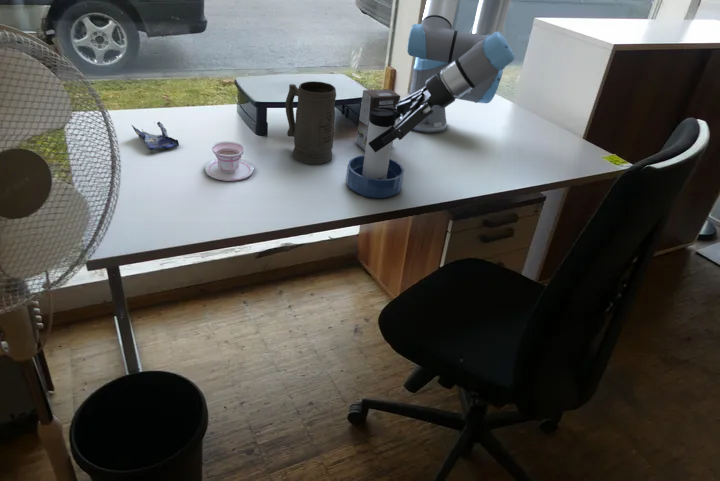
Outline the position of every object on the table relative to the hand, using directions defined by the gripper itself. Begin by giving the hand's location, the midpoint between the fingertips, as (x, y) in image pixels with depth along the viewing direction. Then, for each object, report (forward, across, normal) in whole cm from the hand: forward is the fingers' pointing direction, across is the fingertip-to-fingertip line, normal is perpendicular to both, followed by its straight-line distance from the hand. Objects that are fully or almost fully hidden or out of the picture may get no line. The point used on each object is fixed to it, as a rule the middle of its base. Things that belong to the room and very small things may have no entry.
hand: (374, 136), depth 138 cm
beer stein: (+23, +12, +4) cm, 27 cm away
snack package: (+50, +4, +31) cm, 59 cm away
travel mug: (+8, 0, -10) cm, 13 cm away
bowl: (+8, 0, -10) cm, 14 cm away
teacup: (+34, -4, +15) cm, 38 cm away
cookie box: (+10, +25, -9) cm, 29 cm away
